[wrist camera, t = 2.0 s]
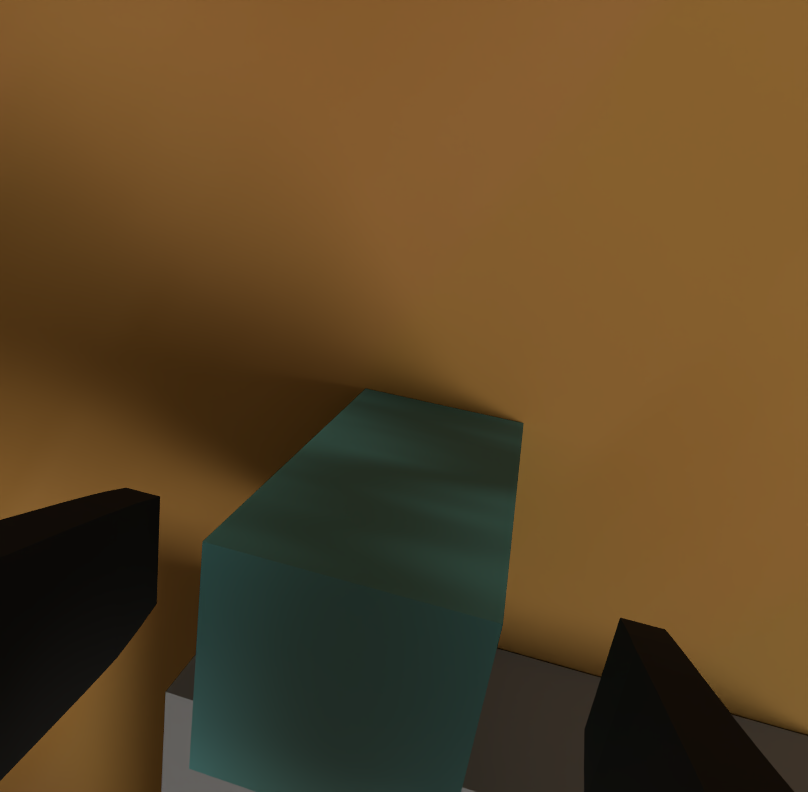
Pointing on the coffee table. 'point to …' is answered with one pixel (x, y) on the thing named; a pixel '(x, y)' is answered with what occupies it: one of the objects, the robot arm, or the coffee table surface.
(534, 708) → the well block
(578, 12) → the coffee table surface
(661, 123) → the coffee table surface
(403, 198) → the coffee table surface
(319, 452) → the teal peg
